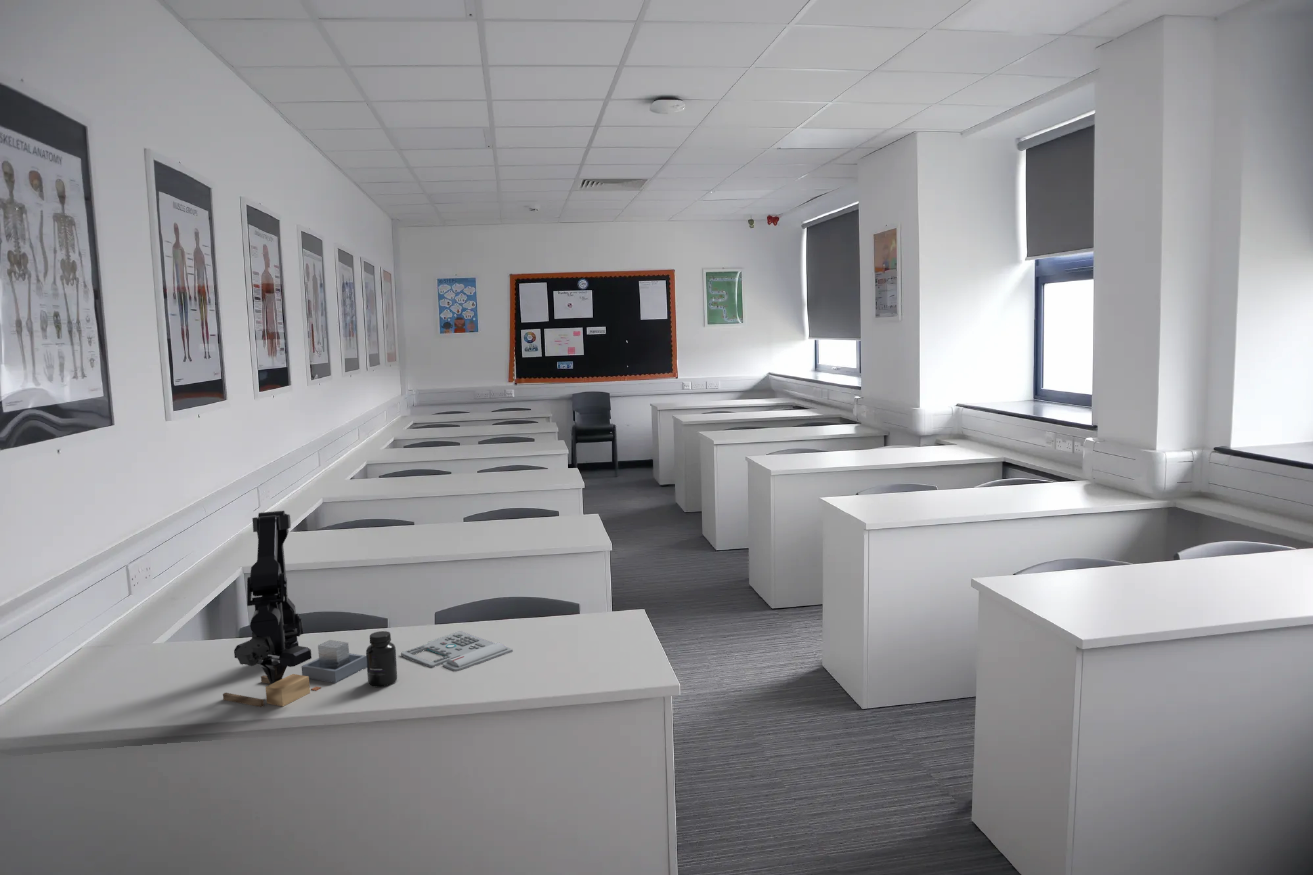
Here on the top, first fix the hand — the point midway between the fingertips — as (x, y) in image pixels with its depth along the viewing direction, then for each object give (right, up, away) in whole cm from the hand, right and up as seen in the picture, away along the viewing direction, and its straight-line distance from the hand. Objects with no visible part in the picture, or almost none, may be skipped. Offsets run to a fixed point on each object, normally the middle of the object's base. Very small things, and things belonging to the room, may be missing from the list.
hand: (275, 687), depth 200 cm
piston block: (+4, -2, -1) cm, 4 cm away
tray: (+9, 0, +14) cm, 16 cm away
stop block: (+9, 0, +14) cm, 16 cm away
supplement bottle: (+23, -1, +7) cm, 24 cm away
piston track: (-1, -2, +2) cm, 3 cm away
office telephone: (+36, +1, +25) cm, 44 cm away
